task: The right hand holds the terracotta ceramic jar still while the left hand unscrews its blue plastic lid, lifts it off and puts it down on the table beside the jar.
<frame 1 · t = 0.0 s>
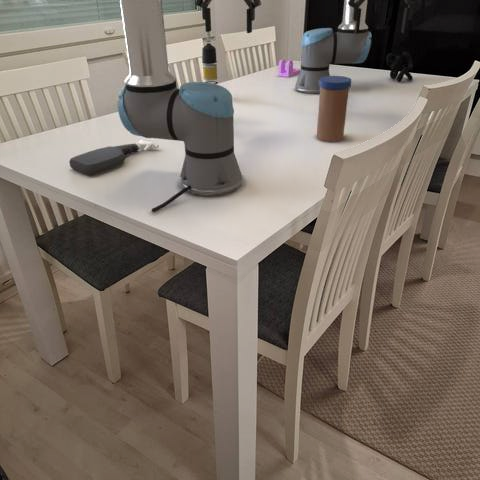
left hand: (228, 32, 139), 28 cm above the table, tool pointing down, fingers open, 13 cm apart
right hand: (379, 33, 131), 28 cm above the table, tool pointing down, fingers open, 13 cm apart
bracket: (290, 74, 215), on the table
spray bottle: (117, 159, 125), on the table
jar: (329, 137, 138), on the table
lid: (335, 80, 129), point 17 cm above the table, screwed on, not yet turned
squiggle: (399, 80, 200), on the table
black tall bottle: (211, 98, 179), on the table
cup: (141, 116, 160), on the table
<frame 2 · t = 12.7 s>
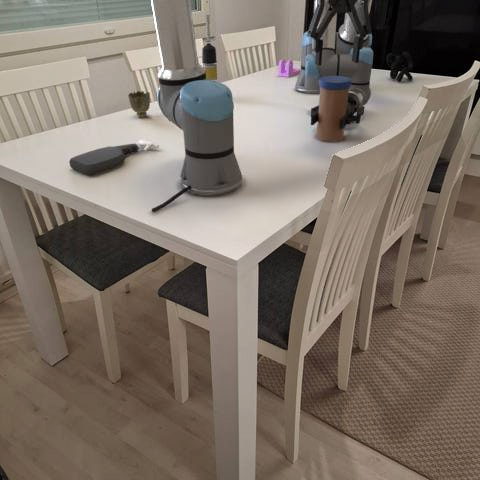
left hand: (336, 63, 126), 22 cm above the table, tool pointing down, fingers open, 10 cm apart
right hand: (326, 122, 131), 6 cm above the table, tool horizontal, fingers closed on jar, 8 cm apart
jar: (329, 137, 138), on the table, touching right hand
everything else where it was.
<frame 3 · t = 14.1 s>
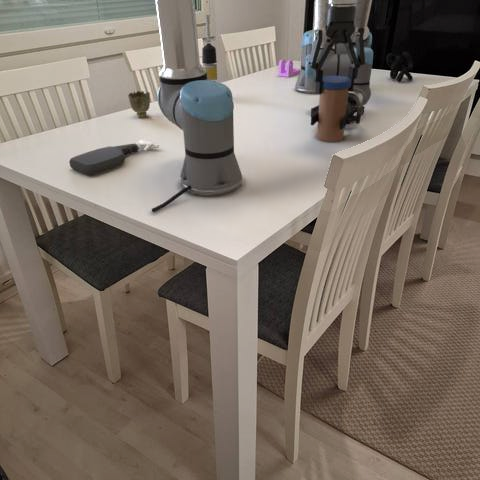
left hand: (334, 91, 130), 14 cm above the table, tool pointing down, fingers closed on lid, 9 cm apart
right hand: (326, 122, 131), 6 cm above the table, tool horizontal, fingers closed on jar, 8 cm apart
jar: (329, 137, 138), on the table, touching right hand
lid: (335, 80, 129), point 17 cm above the table, screwed on, not yet turned, touching left hand
everything else where it was.
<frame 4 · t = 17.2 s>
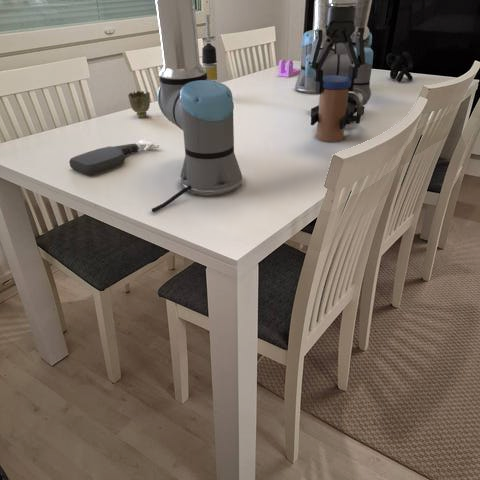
left hand: (334, 91, 130), 14 cm above the table, tool pointing down, fingers closed on lid, 9 cm apart
right hand: (326, 122, 131), 6 cm above the table, tool horizontal, fingers closed on jar, 8 cm apart
jar: (329, 137, 138), on the table, touching right hand
lid: (335, 80, 128), point 17 cm above the table, turned 86° so far, risen 0.1 cm, still on its thread, touching left hand
everything else where it was.
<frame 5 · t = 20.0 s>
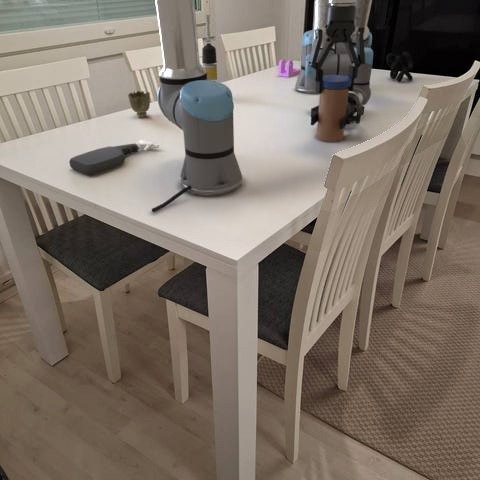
left hand: (334, 91, 130), 14 cm above the table, tool pointing down, fingers closed on lid, 9 cm apart
right hand: (326, 122, 131), 6 cm above the table, tool horizontal, fingers closed on jar, 8 cm apart
jar: (329, 137, 138), on the table, touching right hand
lid: (335, 79, 128), point 17 cm above the table, turned 172° so far, risen 0.2 cm, still on its thread, touching left hand
everything else where it was.
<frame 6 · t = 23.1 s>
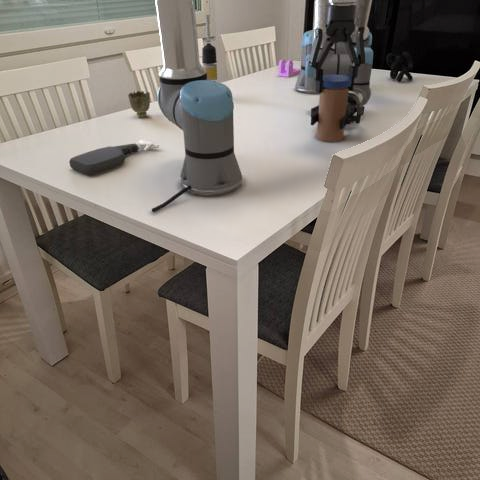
left hand: (334, 90, 130), 14 cm above the table, tool pointing down, fingers closed on lid, 9 cm apart
right hand: (326, 122, 131), 6 cm above the table, tool horizontal, fingers closed on jar, 8 cm apart
jar: (329, 137, 138), on the table, touching right hand
lid: (335, 79, 128), point 17 cm above the table, turned 258° so far, risen 0.3 cm, still on its thread, touching left hand
everything else where it was.
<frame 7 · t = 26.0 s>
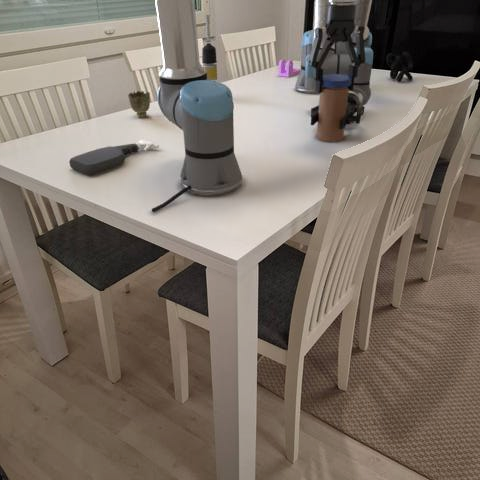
left hand: (334, 90, 130), 14 cm above the table, tool pointing down, fingers closed on lid, 9 cm apart
right hand: (326, 122, 131), 6 cm above the table, tool horizontal, fingers closed on jar, 8 cm apart
jar: (329, 137, 138), on the table, touching right hand
lid: (335, 78, 128), point 17 cm above the table, turned 344° so far, risen 0.4 cm, still on its thread, touching left hand
everything else where it was.
when the left hand's fingers open (0 cm above the table, at t = 32.2 s): lid drops 2 cm, point 2 cm above the table.
when the right hand's fingers open (6 cm above the table, at t = 33.2 s): jar stays where it is, on the table.
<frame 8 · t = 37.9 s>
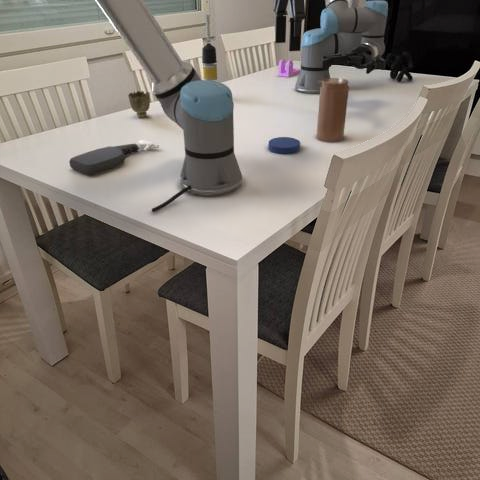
left hand: (287, 46, 116), 28 cm above the table, tool pointing down, fingers open, 13 cm apart
right hand: (345, 67, 134), 19 cm above the table, tool horizontal, fingers open, 13 cm apart
jar: (329, 137, 138), on the table
lid: (284, 143, 129), point 2 cm above the table, off its thread
everything else where it was.
at the end: lid came off its thread; lid point 1.5 cm above the table; the left hand is holding nothing; the right hand is holding nothing; jar tilted 0°; jar moved 0.0 cm from its start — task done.
